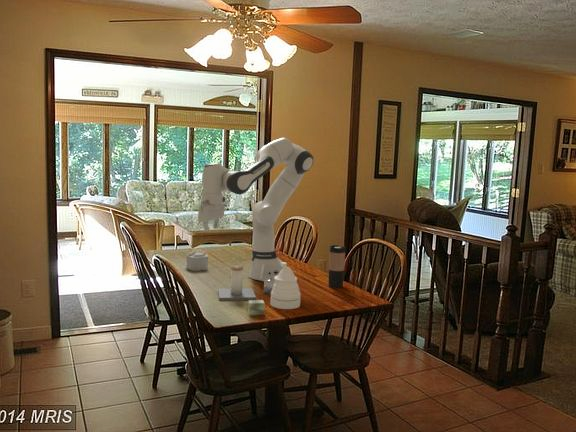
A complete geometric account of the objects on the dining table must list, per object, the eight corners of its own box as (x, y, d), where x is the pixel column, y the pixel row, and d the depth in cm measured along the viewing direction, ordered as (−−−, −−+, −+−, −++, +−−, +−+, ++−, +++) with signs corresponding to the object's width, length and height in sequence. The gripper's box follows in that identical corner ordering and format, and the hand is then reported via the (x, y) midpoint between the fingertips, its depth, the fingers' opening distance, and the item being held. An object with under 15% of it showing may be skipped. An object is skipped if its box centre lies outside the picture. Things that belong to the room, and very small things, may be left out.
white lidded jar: (241, 291, 233) (242, 265, 231) (242, 294, 228) (243, 268, 226) (229, 291, 232) (230, 265, 230) (230, 294, 227) (231, 268, 225)
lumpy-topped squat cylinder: (191, 271, 271) (191, 255, 270) (183, 265, 282) (183, 250, 281) (209, 269, 276) (210, 253, 275) (201, 264, 287) (201, 249, 286)
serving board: (252, 290, 238) (252, 288, 238) (255, 299, 225) (255, 297, 224) (217, 291, 235) (218, 288, 235) (219, 300, 222) (219, 297, 222)
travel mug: (330, 288, 247) (333, 248, 244) (325, 284, 254) (327, 245, 252) (345, 288, 249) (347, 248, 246) (340, 284, 256) (342, 245, 254)
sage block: (262, 311, 209) (263, 300, 209) (264, 315, 205) (264, 303, 205) (248, 312, 208) (248, 300, 207) (249, 315, 204) (249, 303, 203)
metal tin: (275, 290, 240) (275, 278, 239) (277, 294, 235) (278, 281, 234) (262, 290, 239) (263, 278, 238) (265, 294, 233) (265, 281, 232)
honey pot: (264, 303, 220) (265, 262, 218) (285, 298, 229) (287, 259, 226) (284, 311, 211) (286, 268, 208) (306, 305, 220) (308, 264, 217)
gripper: (208, 201, 217) (207, 233, 219) (227, 197, 236) (226, 227, 238) (194, 200, 218) (194, 232, 220) (214, 196, 238) (214, 226, 240)
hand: (211, 229), depth 229 cm, fingers open, 8 cm apart
